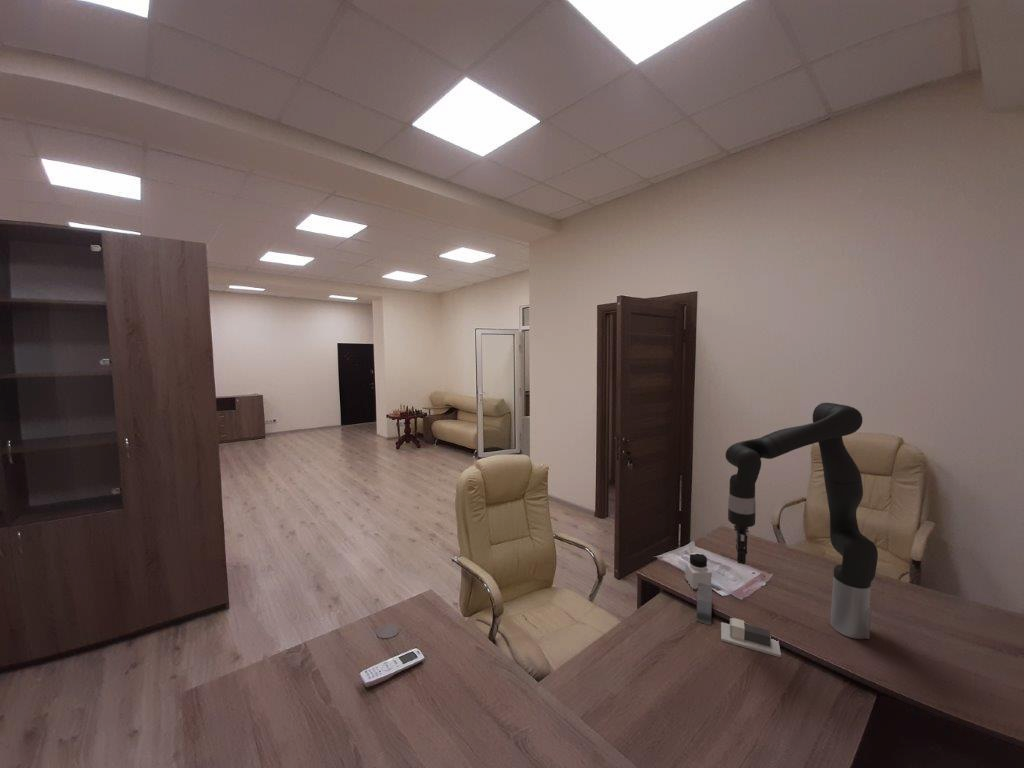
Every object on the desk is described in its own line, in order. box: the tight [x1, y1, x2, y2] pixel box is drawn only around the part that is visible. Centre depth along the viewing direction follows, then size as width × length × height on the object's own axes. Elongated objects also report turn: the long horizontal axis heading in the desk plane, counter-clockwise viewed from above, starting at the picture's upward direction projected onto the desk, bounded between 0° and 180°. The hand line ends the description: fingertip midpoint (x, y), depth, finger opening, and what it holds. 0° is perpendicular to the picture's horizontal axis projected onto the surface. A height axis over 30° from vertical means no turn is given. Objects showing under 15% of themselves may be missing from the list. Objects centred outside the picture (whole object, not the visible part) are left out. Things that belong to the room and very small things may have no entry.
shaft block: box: [695, 583, 713, 626], centre depth 141 cm, size 4×15×7 cm, turn 153°
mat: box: [720, 621, 782, 658], centre depth 127 cm, size 16×8×1 cm, turn 63°
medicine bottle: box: [684, 552, 712, 590], centre depth 156 cm, size 7×7×12 cm
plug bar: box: [729, 617, 771, 647], centre depth 127 cm, size 11×4×4 cm, turn 63°
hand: (740, 556), depth 128 cm, fingers open, 8 cm apart
